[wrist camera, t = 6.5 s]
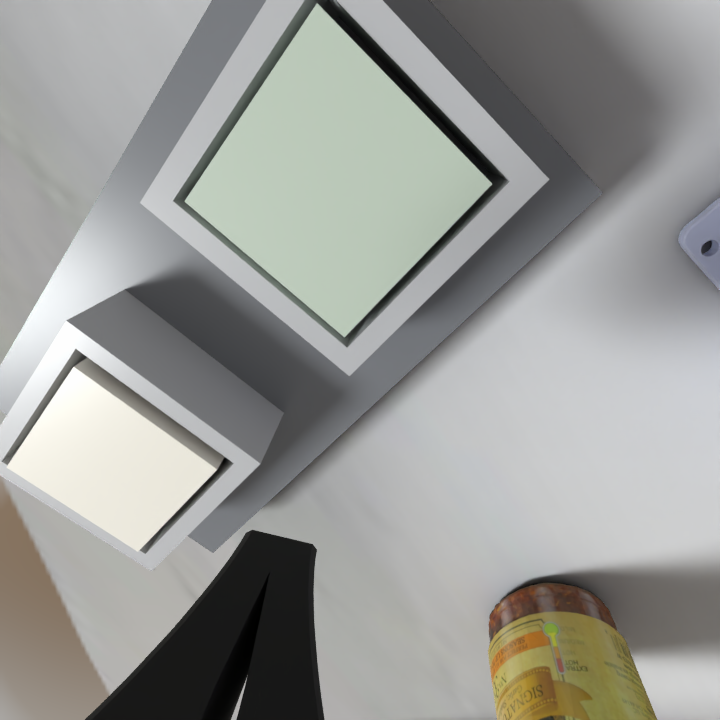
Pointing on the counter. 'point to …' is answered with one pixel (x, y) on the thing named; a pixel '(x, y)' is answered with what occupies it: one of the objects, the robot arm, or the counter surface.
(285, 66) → the sage key
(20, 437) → the key console
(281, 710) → the robot arm
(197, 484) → the cream key
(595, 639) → the sauce bottle
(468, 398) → the counter surface
